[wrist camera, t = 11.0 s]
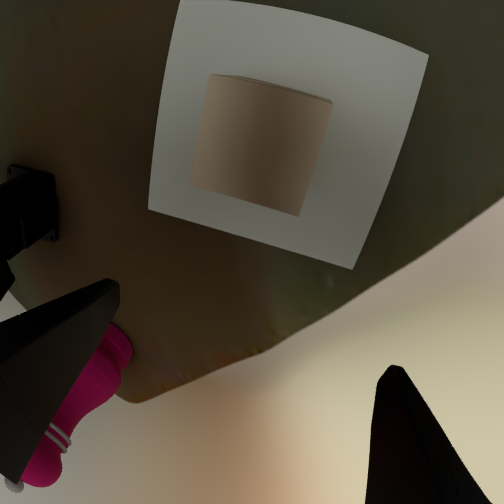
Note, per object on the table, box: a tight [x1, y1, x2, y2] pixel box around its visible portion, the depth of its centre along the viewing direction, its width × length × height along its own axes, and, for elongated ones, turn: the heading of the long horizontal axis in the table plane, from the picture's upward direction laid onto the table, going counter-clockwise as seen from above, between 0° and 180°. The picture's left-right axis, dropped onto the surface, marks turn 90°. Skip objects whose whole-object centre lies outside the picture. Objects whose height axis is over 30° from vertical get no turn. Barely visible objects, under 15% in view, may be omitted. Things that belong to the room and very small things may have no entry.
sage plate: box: [148, 0, 429, 270], centre depth 17 cm, size 14×14×1 cm
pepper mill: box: [5, 323, 133, 493], centre depth 23 cm, size 7×7×20 cm
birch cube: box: [189, 74, 334, 217], centre depth 15 cm, size 5×5×5 cm
